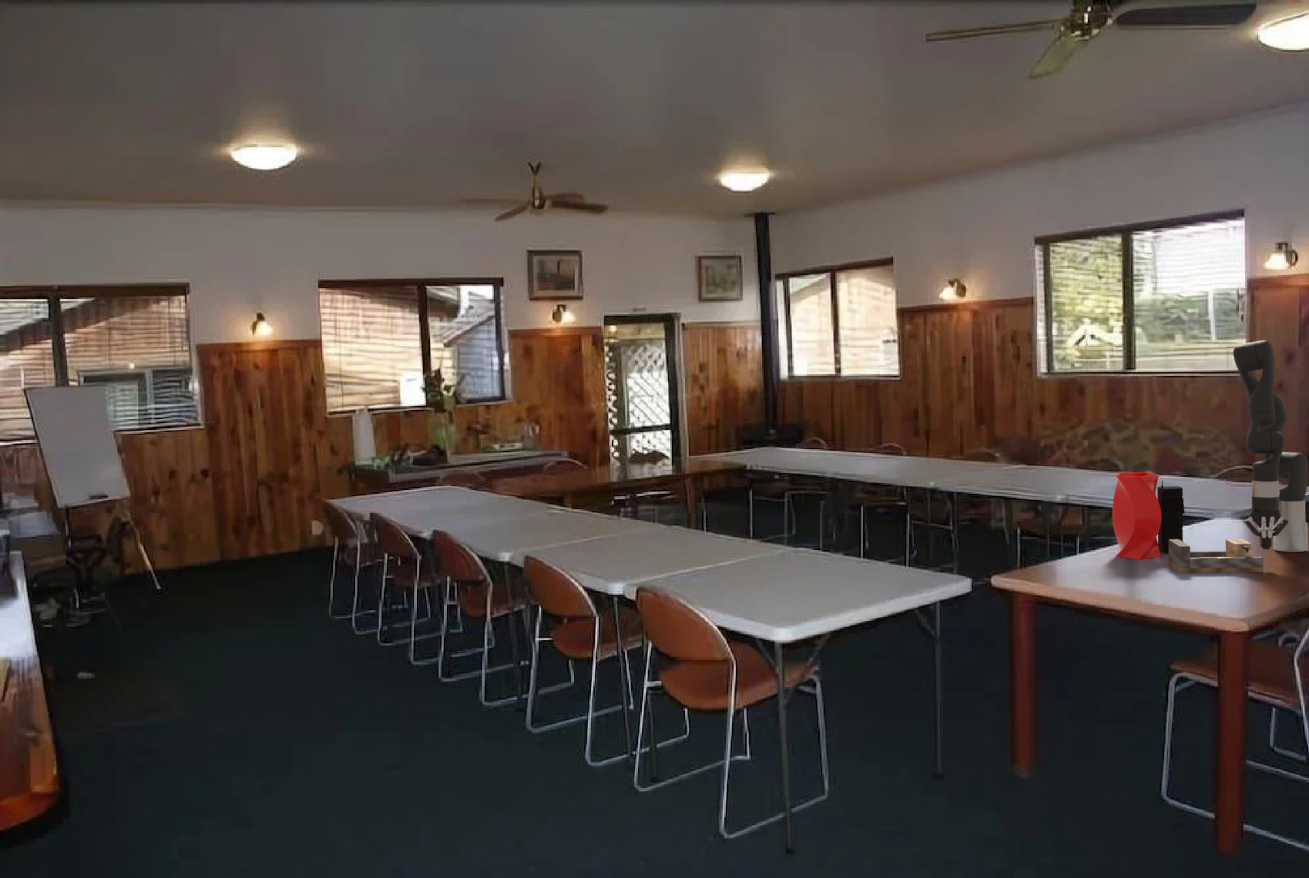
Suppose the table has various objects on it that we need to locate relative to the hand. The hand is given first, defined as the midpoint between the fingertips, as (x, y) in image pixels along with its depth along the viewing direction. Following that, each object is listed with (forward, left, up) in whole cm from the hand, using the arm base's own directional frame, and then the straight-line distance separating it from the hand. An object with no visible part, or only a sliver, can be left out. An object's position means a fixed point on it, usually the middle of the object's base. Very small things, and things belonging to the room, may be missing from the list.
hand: (1265, 549), depth 329 cm
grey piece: (+15, 0, -6) cm, 16 cm away
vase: (+33, -23, -6) cm, 41 cm away
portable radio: (+20, -28, -6) cm, 35 cm away
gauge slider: (+8, +2, -4) cm, 9 cm away
